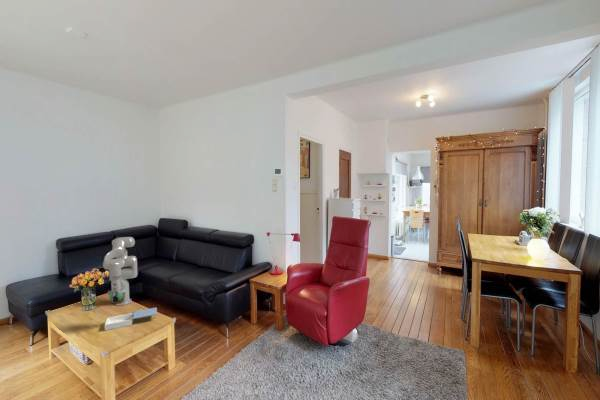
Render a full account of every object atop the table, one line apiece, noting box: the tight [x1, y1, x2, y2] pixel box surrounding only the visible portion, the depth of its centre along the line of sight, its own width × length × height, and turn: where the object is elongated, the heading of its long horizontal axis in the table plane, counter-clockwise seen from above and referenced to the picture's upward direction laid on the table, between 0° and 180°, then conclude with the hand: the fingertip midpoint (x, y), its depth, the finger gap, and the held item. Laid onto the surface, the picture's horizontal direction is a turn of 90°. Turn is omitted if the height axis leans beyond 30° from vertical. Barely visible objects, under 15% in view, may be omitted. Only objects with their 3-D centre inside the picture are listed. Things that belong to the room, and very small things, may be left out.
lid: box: [131, 307, 158, 320], centre depth 221 cm, size 12×17×3 cm
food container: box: [107, 289, 126, 305], centre depth 211 cm, size 12×6×10 cm, turn 105°
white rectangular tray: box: [104, 312, 134, 332], centre depth 213 cm, size 12×17×4 cm
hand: (116, 299), depth 212 cm, fingers closed on food container, 5 cm apart
